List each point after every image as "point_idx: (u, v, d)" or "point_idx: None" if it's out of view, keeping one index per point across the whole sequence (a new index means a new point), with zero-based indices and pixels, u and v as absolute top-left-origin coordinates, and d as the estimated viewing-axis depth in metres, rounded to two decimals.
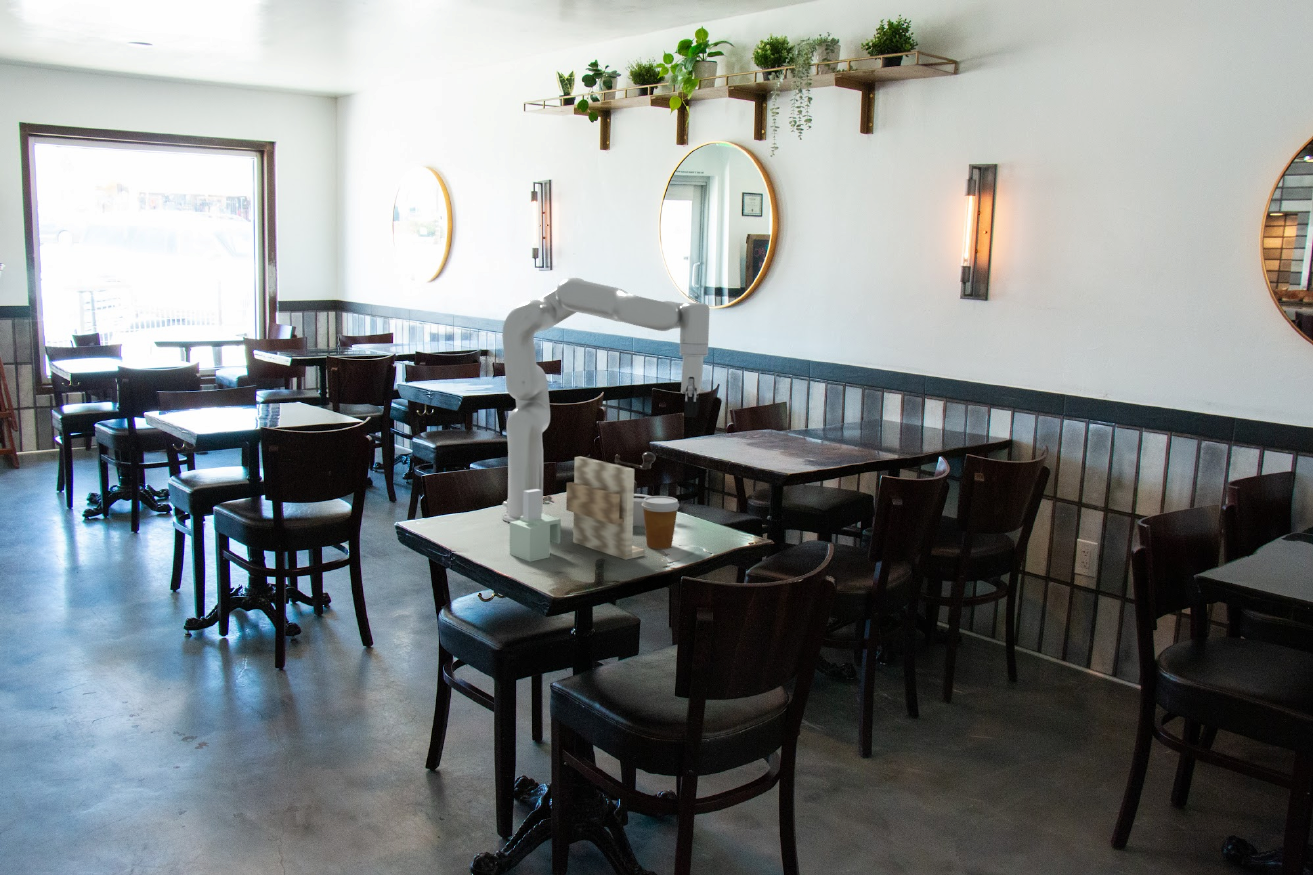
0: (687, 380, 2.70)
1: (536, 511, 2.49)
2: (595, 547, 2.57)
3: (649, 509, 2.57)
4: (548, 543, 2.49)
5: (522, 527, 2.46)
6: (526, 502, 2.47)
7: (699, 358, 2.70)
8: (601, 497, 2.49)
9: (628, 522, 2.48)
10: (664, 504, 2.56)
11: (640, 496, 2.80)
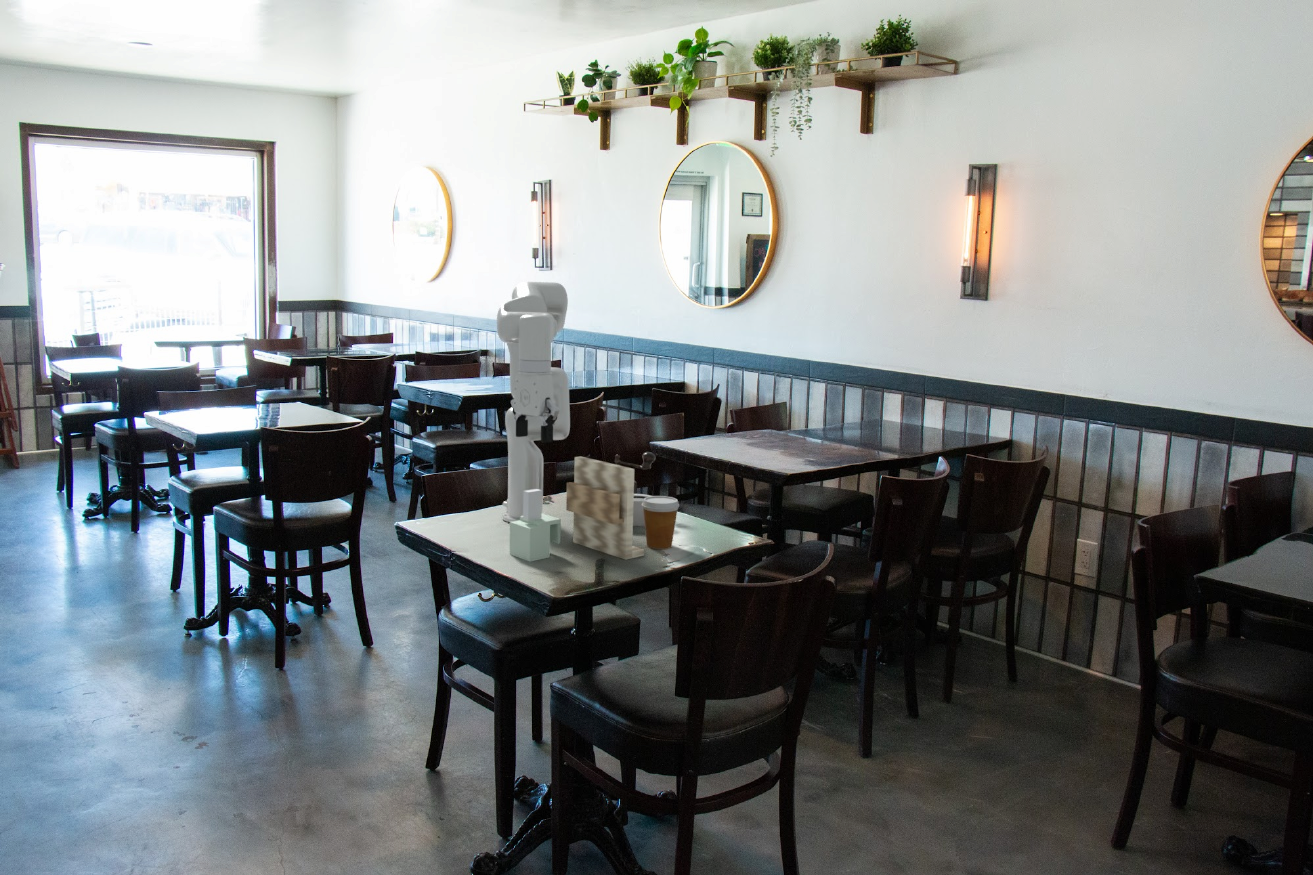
0: (544, 402, 2.40)
1: (536, 511, 2.49)
2: (595, 547, 2.57)
3: (649, 509, 2.57)
4: (548, 543, 2.49)
5: (522, 527, 2.46)
6: (526, 502, 2.47)
7: (551, 376, 2.42)
8: (601, 497, 2.49)
9: (628, 522, 2.48)
10: (664, 504, 2.56)
11: (642, 496, 2.80)
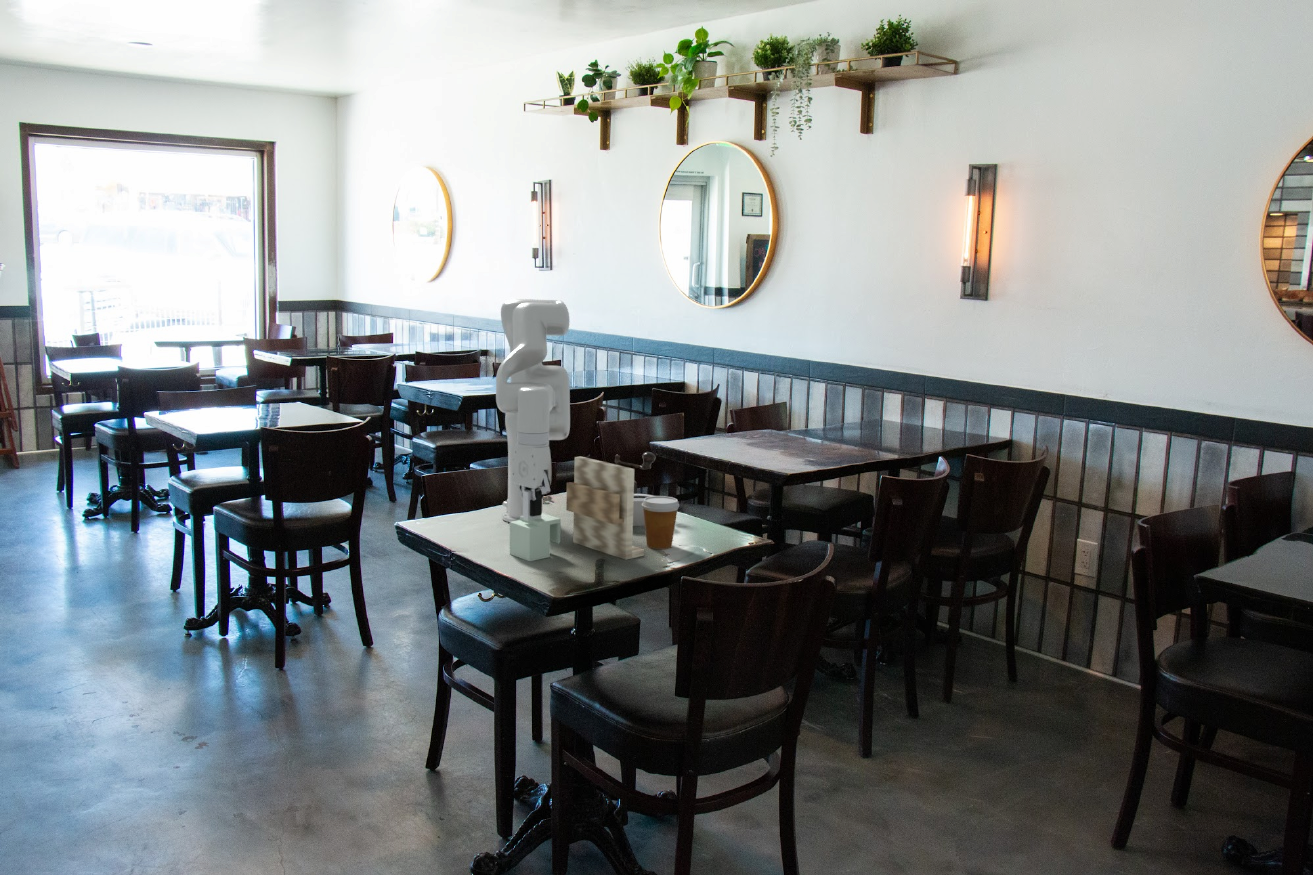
0: (542, 474, 2.43)
1: None
2: (595, 547, 2.57)
3: (649, 509, 2.57)
4: (548, 543, 2.48)
5: (522, 527, 2.46)
6: (526, 502, 2.47)
7: (549, 448, 2.45)
8: (601, 497, 2.49)
9: (628, 522, 2.48)
10: (664, 504, 2.56)
11: (643, 496, 2.80)
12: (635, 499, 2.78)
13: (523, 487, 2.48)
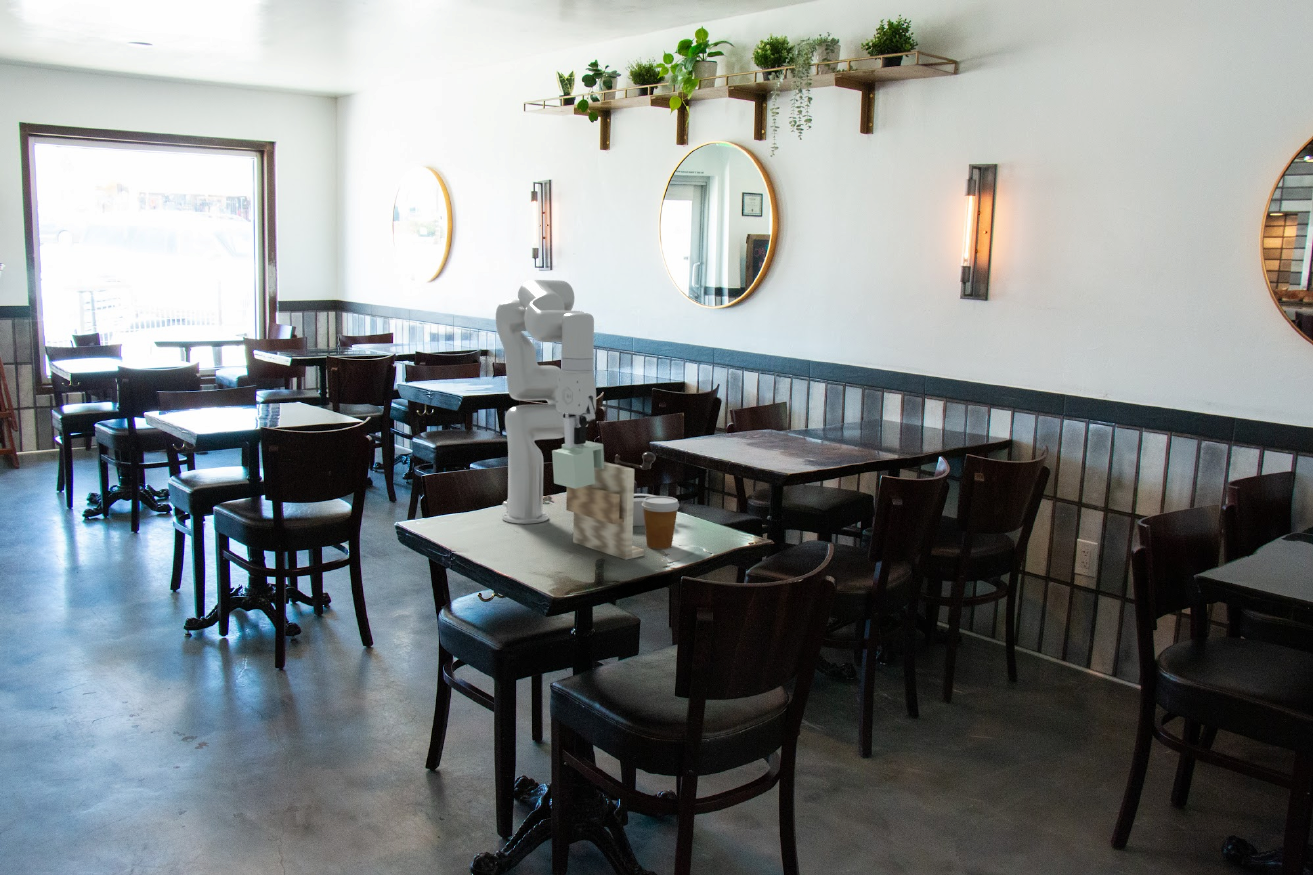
0: (587, 400, 2.40)
1: None
2: (595, 547, 2.57)
3: (649, 509, 2.57)
4: (592, 469, 2.45)
5: (565, 455, 2.43)
6: (567, 429, 2.43)
7: (593, 374, 2.42)
8: (601, 497, 2.49)
9: (628, 522, 2.48)
10: (664, 504, 2.56)
11: (645, 496, 2.81)
12: (637, 499, 2.79)
13: (567, 415, 2.45)
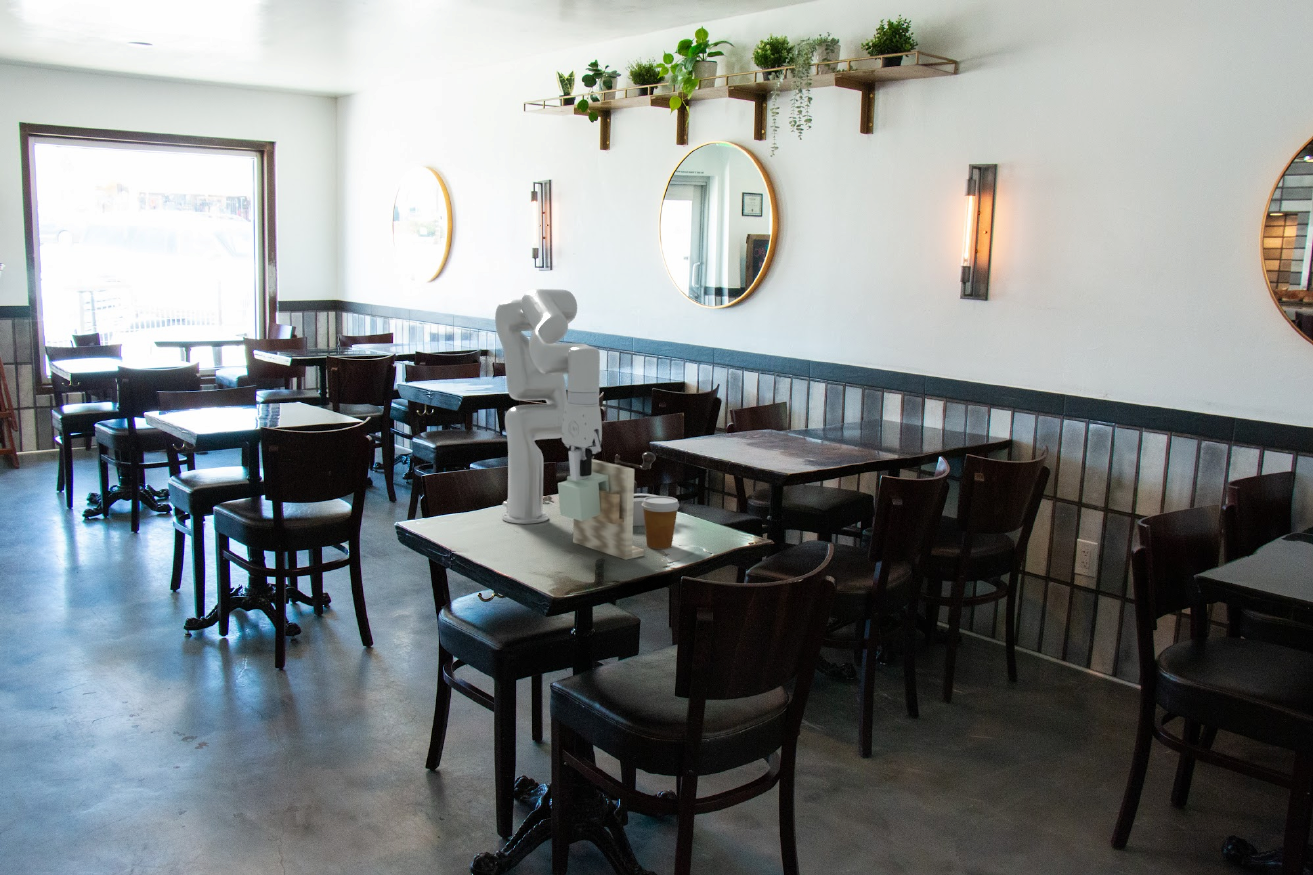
0: (593, 433, 2.43)
1: None
2: (595, 547, 2.57)
3: (649, 509, 2.57)
4: (598, 501, 2.48)
5: (571, 488, 2.46)
6: (572, 462, 2.46)
7: (599, 407, 2.45)
8: (601, 497, 2.49)
9: (628, 522, 2.48)
10: (664, 504, 2.56)
11: (646, 496, 2.81)
12: (638, 499, 2.79)
13: (573, 447, 2.48)
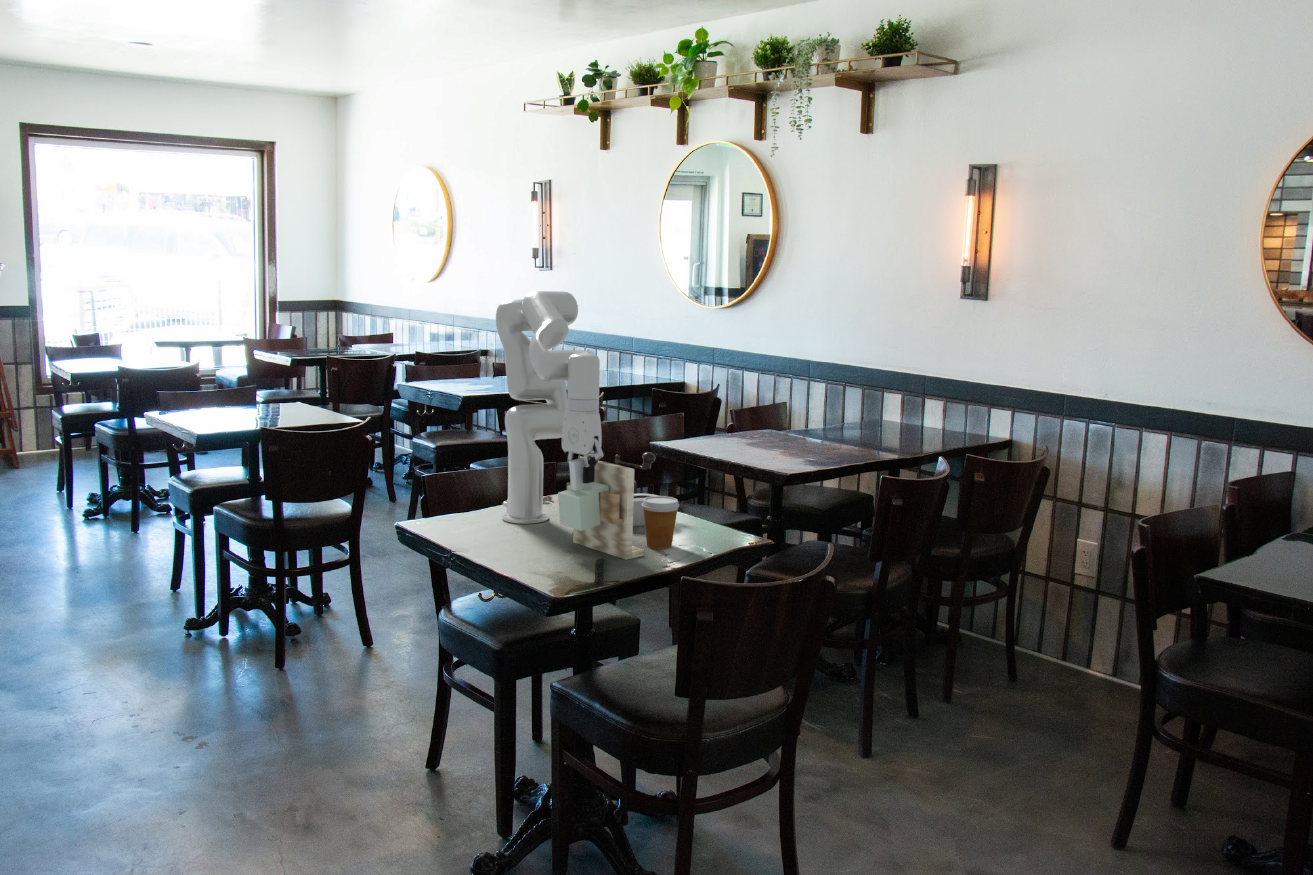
0: (592, 440, 2.43)
1: None
2: (595, 547, 2.57)
3: (649, 509, 2.57)
4: (598, 511, 2.49)
5: (571, 497, 2.46)
6: (573, 472, 2.47)
7: (599, 414, 2.45)
8: (601, 497, 2.49)
9: (628, 522, 2.48)
10: (664, 504, 2.56)
11: (647, 496, 2.81)
12: (639, 499, 2.79)
13: (570, 453, 2.49)
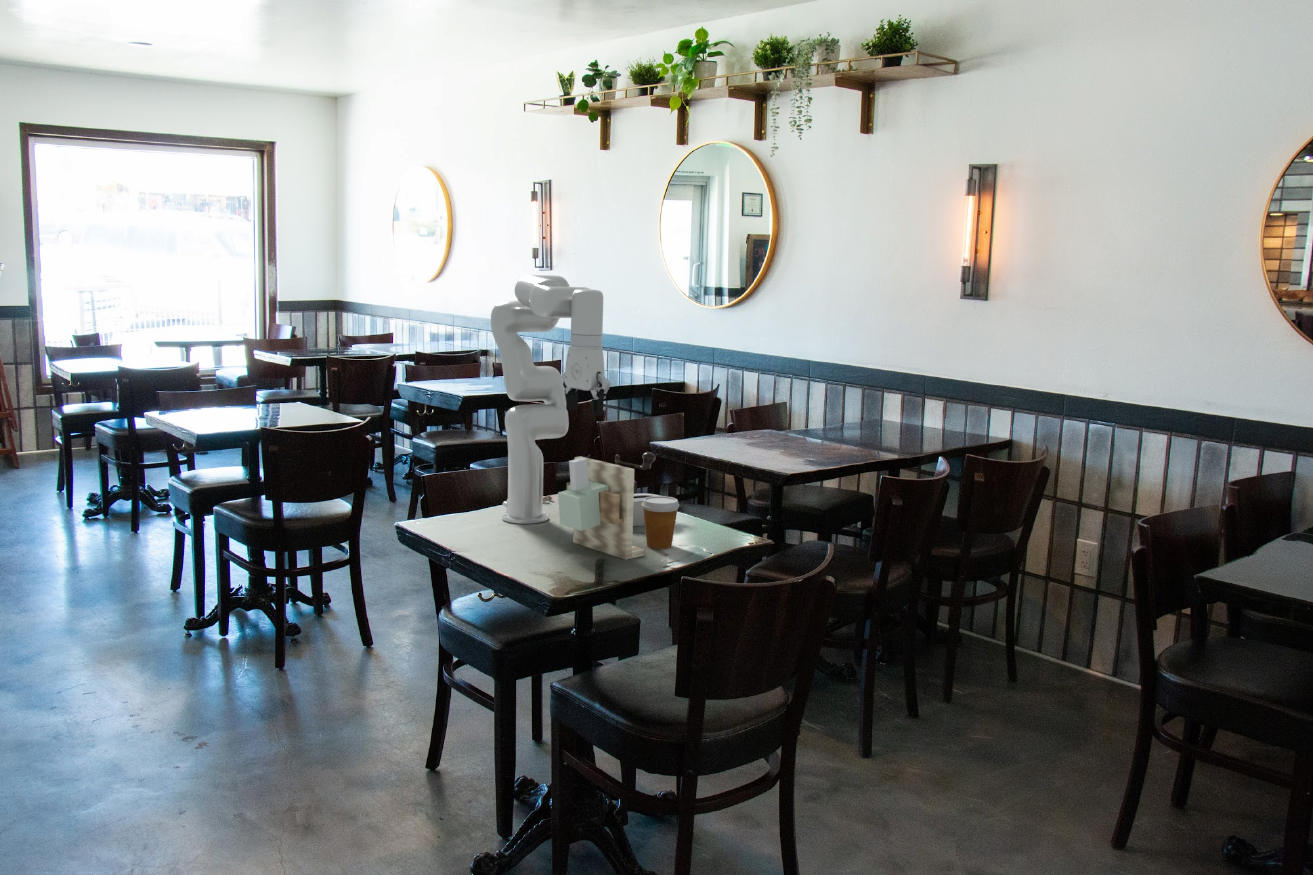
0: (595, 376, 2.44)
1: (583, 480, 2.48)
2: (595, 547, 2.57)
3: (649, 509, 2.57)
4: (598, 511, 2.49)
5: (571, 497, 2.46)
6: (573, 472, 2.47)
7: (602, 350, 2.46)
8: (601, 497, 2.49)
9: (628, 522, 2.48)
10: (664, 504, 2.56)
11: (649, 495, 2.81)
12: (641, 499, 2.79)
13: (569, 386, 2.51)
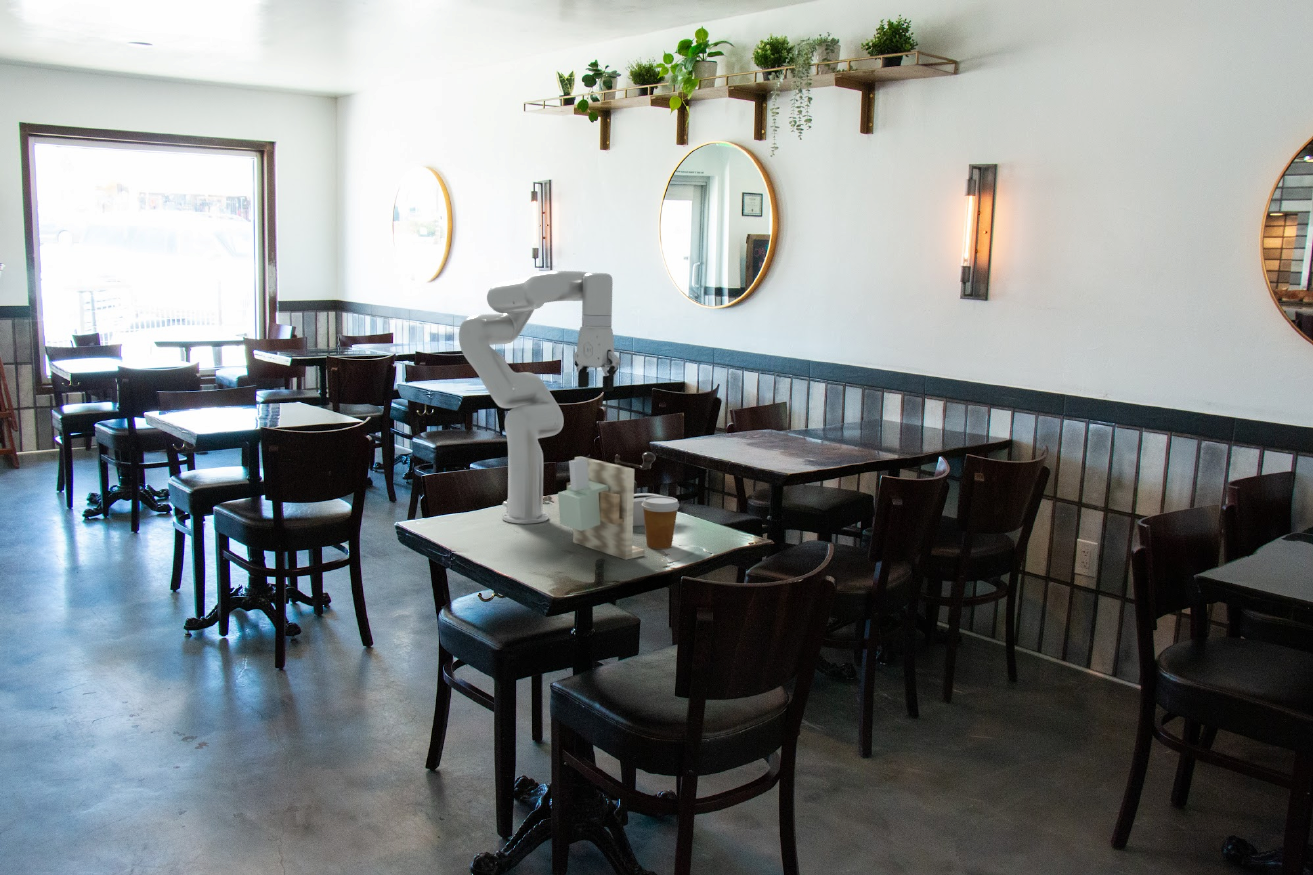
0: (606, 353, 2.60)
1: (583, 480, 2.48)
2: (595, 547, 2.57)
3: (649, 509, 2.57)
4: (598, 511, 2.49)
5: (571, 497, 2.46)
6: (573, 472, 2.47)
7: None
8: (601, 497, 2.49)
9: (628, 522, 2.48)
10: (664, 504, 2.56)
11: (650, 495, 2.81)
12: (643, 499, 2.79)
13: (581, 364, 2.67)
